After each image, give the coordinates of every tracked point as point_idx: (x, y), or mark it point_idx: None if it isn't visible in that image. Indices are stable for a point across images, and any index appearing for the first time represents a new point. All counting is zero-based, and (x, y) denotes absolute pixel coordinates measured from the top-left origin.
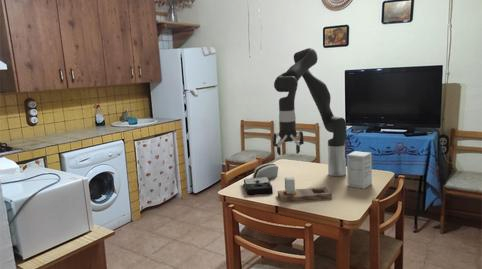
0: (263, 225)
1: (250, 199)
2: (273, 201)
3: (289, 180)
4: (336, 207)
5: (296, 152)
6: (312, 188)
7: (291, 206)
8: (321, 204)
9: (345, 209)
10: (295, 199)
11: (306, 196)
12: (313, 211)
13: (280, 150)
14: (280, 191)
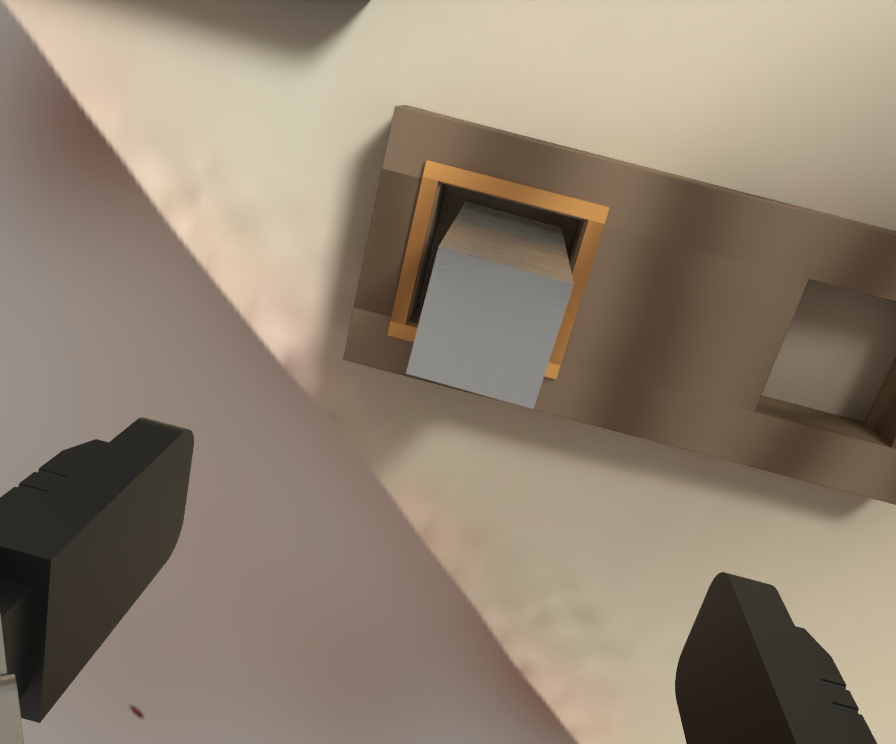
0: None
1: (64, 67)
2: (293, 256)
3: (456, 384)
4: None
5: (709, 609)
6: (857, 242)
7: (410, 463)
8: (696, 551)
9: None
10: None
11: (626, 431)
12: (533, 642)
13: (102, 639)
14: (421, 145)
